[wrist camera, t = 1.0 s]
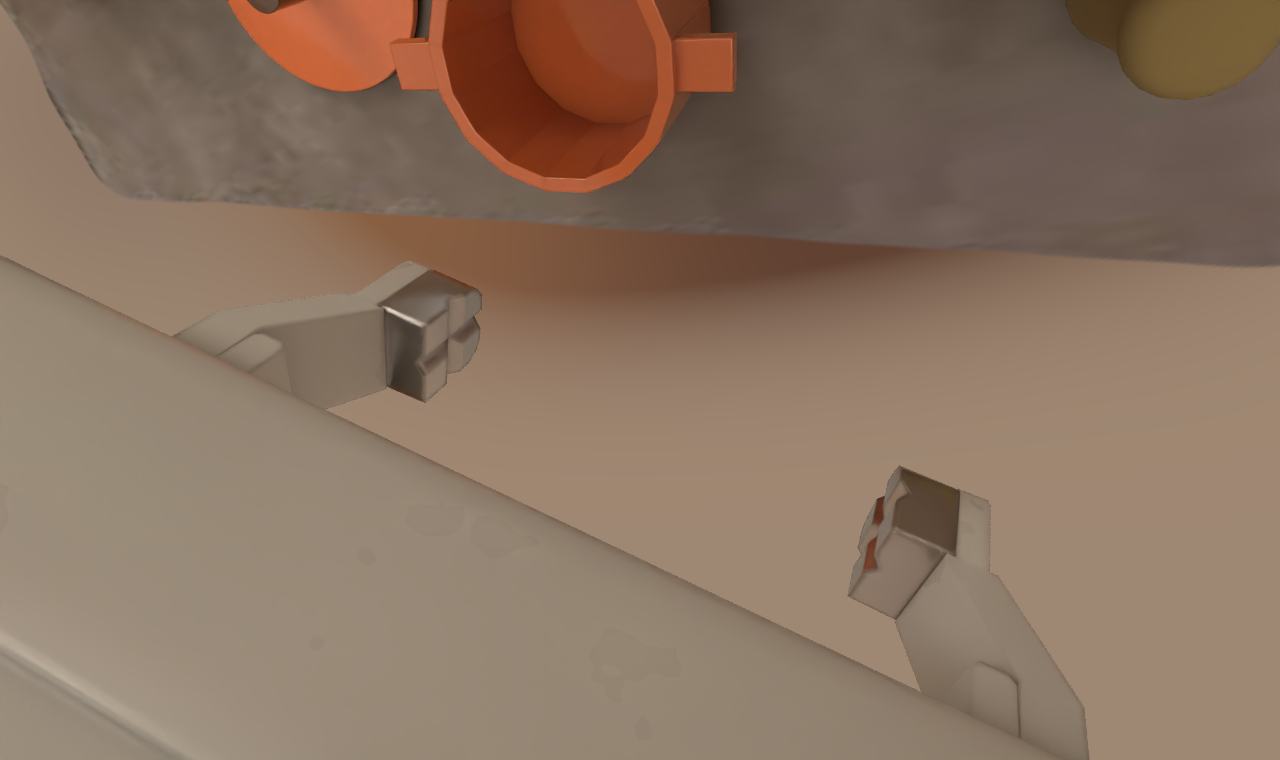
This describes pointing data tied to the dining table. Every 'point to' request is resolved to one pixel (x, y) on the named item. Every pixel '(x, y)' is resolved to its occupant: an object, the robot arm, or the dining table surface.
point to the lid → (330, 37)
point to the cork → (1182, 40)
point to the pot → (567, 80)
